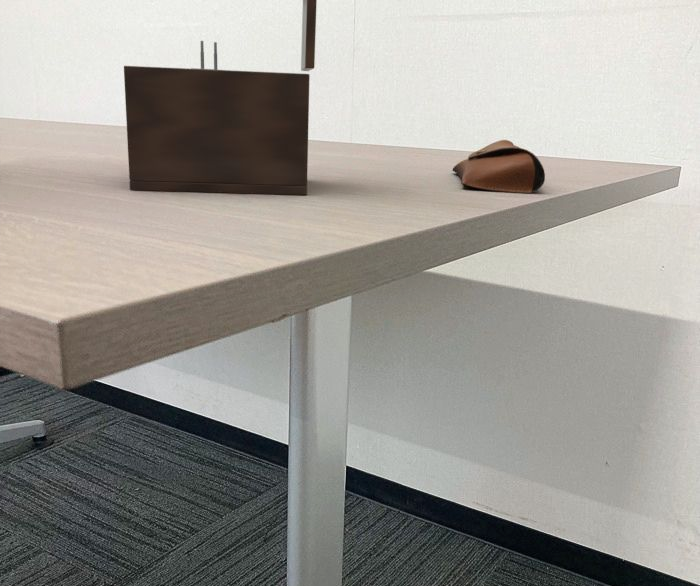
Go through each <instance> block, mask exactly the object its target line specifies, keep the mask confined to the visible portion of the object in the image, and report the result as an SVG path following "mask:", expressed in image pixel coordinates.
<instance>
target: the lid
mask: <svg viewBox="0 0 700 586" xmlns="http://www.w3.org/2000/svg"><path fill="white" fill-rule="evenodd" d="M317 1H318V0H302V19H301V20H302V21H301V22H302V23H301V53H300V54H301V55H300V56H301V57H300V71H301V72H310V71H311V70H313V69H315V65H316V63H315V62H316V55H315V54H316V34H317V33H316V31H317V4H318V3H317Z"/></svg>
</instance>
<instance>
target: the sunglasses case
mask: <svg viewBox="0 0 700 586" xmlns="http://www.w3.org/2000/svg"><path fill="white" fill-rule="evenodd" d="M452 172H455V173H456V174H457V176H458V177H459V178H460V180H461V185H462V186H466V187H469V188H474V189H480V190H484V191H489V192H497V193H513V194H530V195H531V194H533V193H535V192H537V191H539V189H540V188H542V186H543V185H544V183H545V181H546V172H545V169H544V166H543V164H542V163H541V161H540V159H539V158H538V157H537V156H536V155H535V154H534V153H533V152H531V151H530V150H528V149H525V148H522V147H519V146H517V145H515V144H514V143H513V142H512V141H511V140H508V139H500V140H497V141H495V142H492V143H490V144H487V145H486V146H484V147H483V148H480V149H478V150H476V151H474V152H472V153H470V154H469V155H468V157H467V158H465V159H463V160H461V161H459V162H458V163H456V165H454V166H453V168H452Z"/></svg>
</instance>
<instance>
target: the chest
mask: <svg viewBox="0 0 700 586" xmlns="http://www.w3.org/2000/svg"><path fill="white" fill-rule="evenodd" d="M209 69H210V68H204V69H201V68H196V69H191V68H183V67H162V66H140V65H139V66H138V65H124V66H123V78H124V79H123V80H124V82H123V83H124V98H125V100H124V101H125V102H124V103H125V115H126V116H125V117H126V119H125V121H126V135H127V137H126V139H127V141H126V142H127V157H128V158H127V159H128V180H129V190H130V191H147V192H148V191H150V192H151V191H152V192H179V193H180V192H182V193H183V192H184V193H215V194H216V193H217V194H218V193H219V194H220V193H221V194H251V195H252V194H253V195H254V194H255V195H284V196H285V195H286V196H287V195H289V196H307V195H308V168H309V167H308V166H309V165H308V163H309V160H308V159H309V122H310V121H309V117H310V116H309V114H310V77H311V76H310V73H295V72H273V71H254V70H232V69H231V70H230V69H229V70H228V69H217V70H209Z"/></svg>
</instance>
